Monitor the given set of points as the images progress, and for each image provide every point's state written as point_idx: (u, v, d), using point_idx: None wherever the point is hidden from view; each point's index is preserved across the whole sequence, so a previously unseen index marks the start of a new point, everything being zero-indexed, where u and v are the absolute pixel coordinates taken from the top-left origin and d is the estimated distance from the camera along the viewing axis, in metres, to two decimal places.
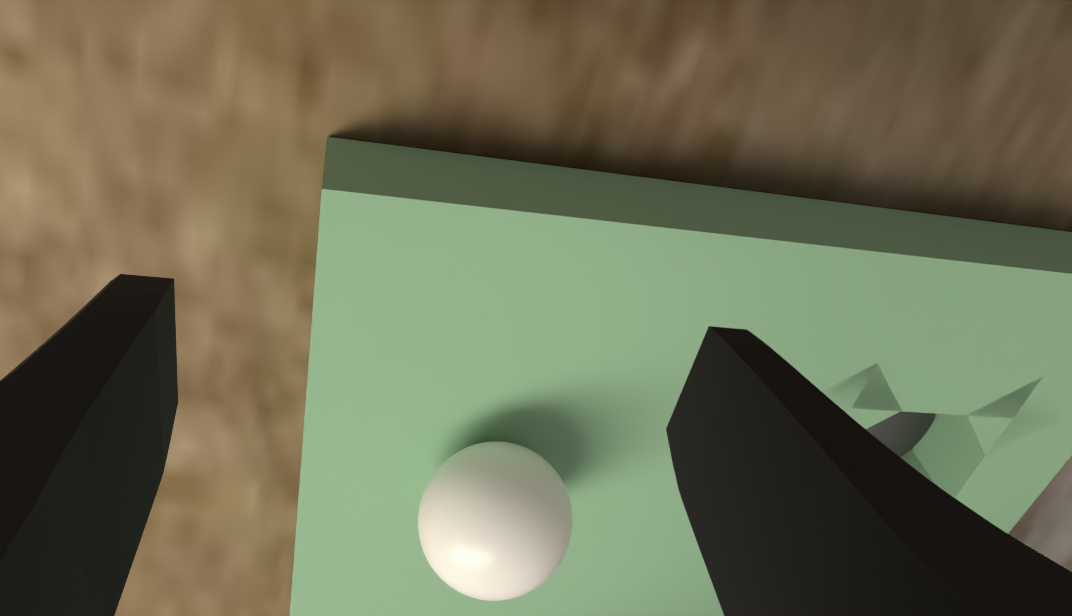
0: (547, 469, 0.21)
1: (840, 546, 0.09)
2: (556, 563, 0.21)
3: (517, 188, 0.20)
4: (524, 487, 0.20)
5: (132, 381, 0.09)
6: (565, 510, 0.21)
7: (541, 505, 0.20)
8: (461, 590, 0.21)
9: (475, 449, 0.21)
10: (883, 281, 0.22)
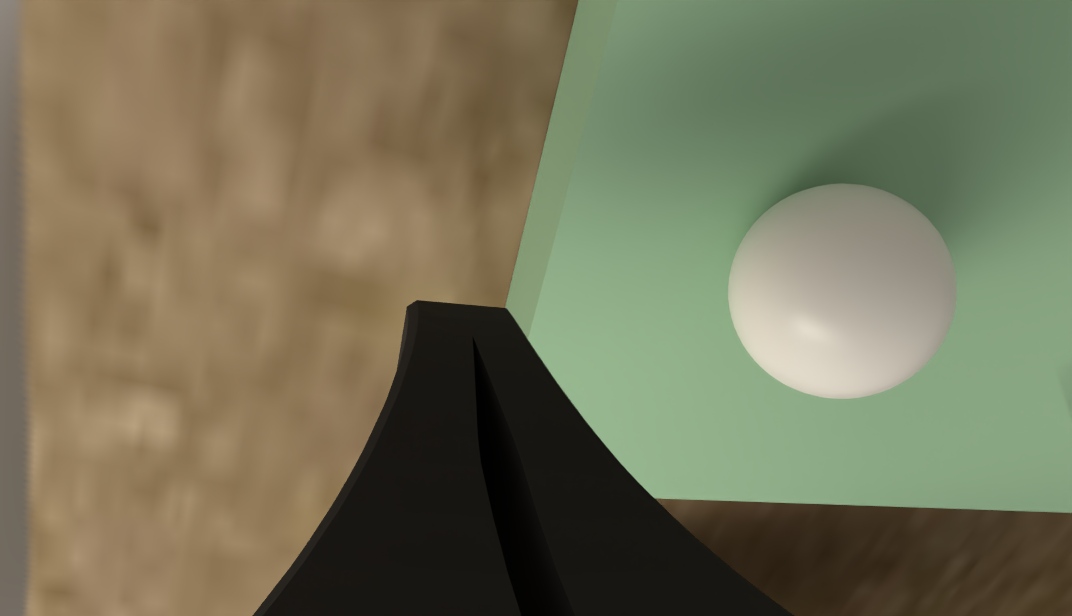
0: None
1: (515, 539, 0.08)
2: (943, 340, 0.15)
3: None
4: (913, 221, 0.14)
5: None
6: None
7: (937, 247, 0.14)
8: (814, 374, 0.15)
9: (818, 187, 0.15)
10: None
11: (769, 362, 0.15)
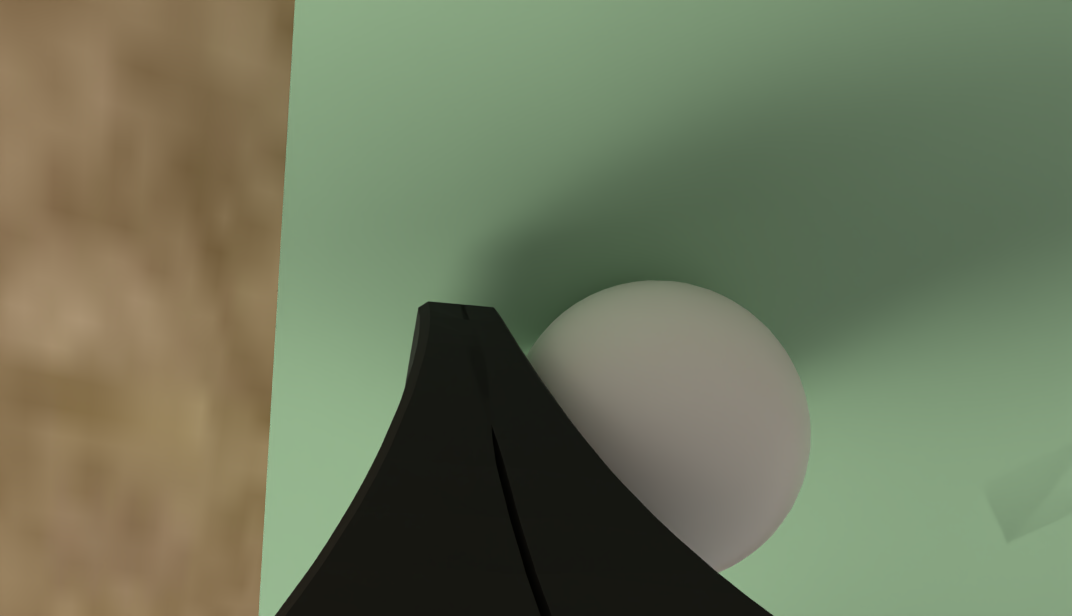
0: (762, 323, 0.11)
1: None
2: (792, 503, 0.11)
3: None
4: (740, 345, 0.10)
5: None
6: (805, 399, 0.11)
7: (775, 382, 0.10)
8: None
9: (620, 288, 0.11)
10: None
11: None
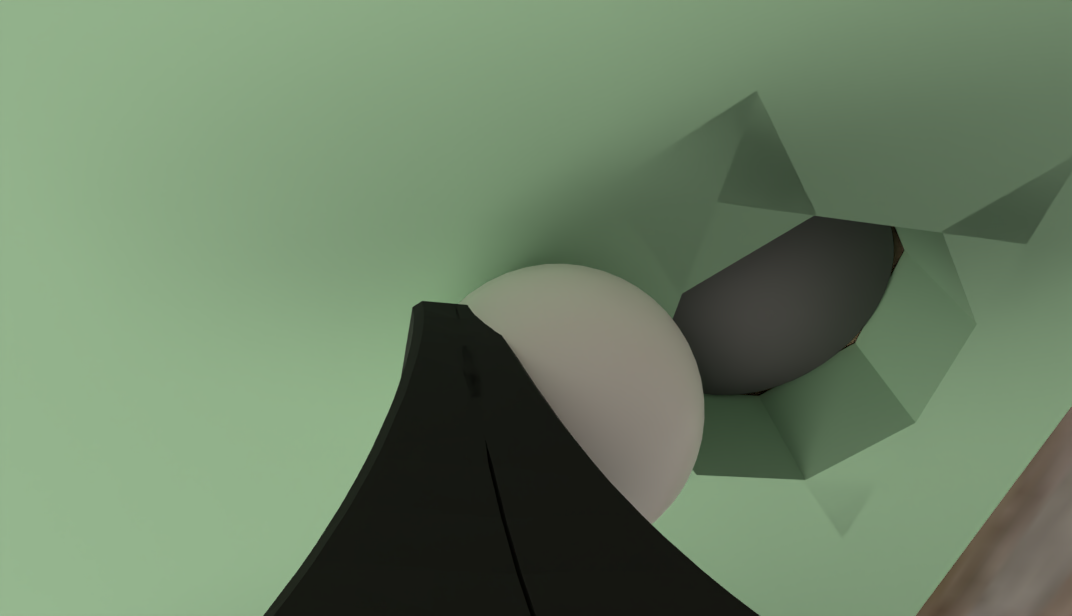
0: (585, 385, 0.10)
1: None
2: None
3: None
4: (562, 301, 0.10)
5: None
6: None
7: (516, 318, 0.10)
8: None
9: (680, 336, 0.11)
10: None
11: None
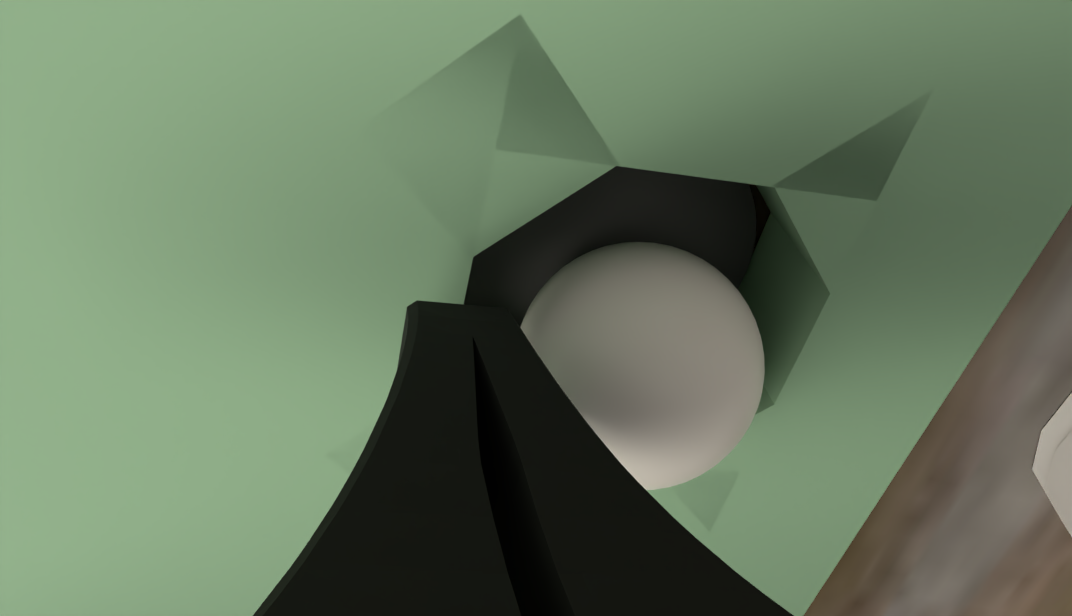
0: (652, 247, 0.13)
1: (515, 540, 0.08)
2: None
3: None
4: (699, 288, 0.12)
5: None
6: None
7: (722, 285, 0.13)
8: None
9: (585, 328, 0.12)
10: None
11: None
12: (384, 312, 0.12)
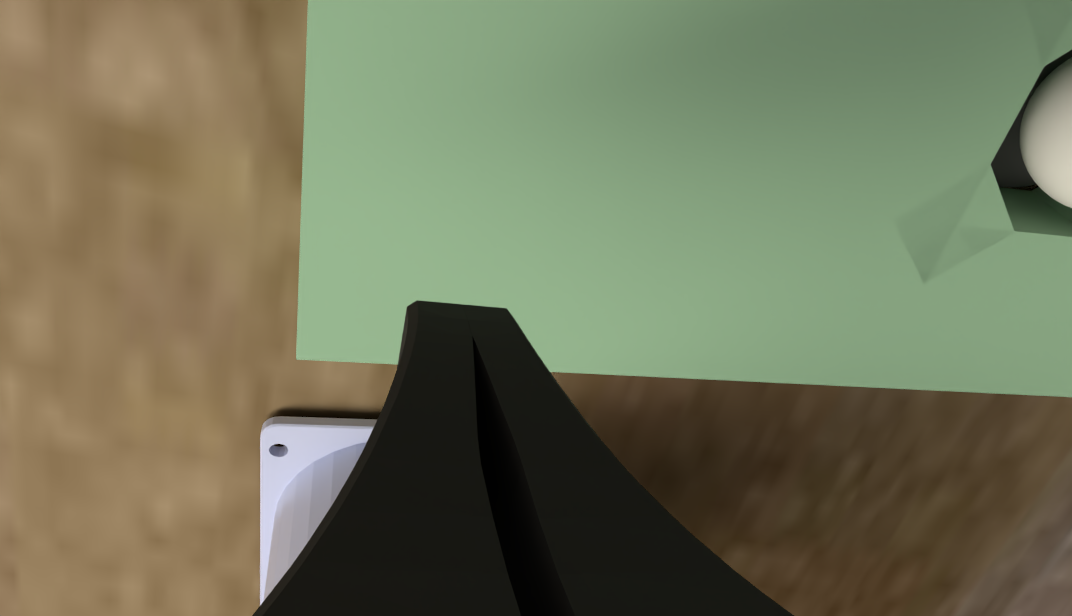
0: None
1: (515, 540, 0.08)
2: None
3: None
4: None
5: None
6: None
7: None
8: None
9: None
10: None
11: None
12: (975, 107, 0.18)
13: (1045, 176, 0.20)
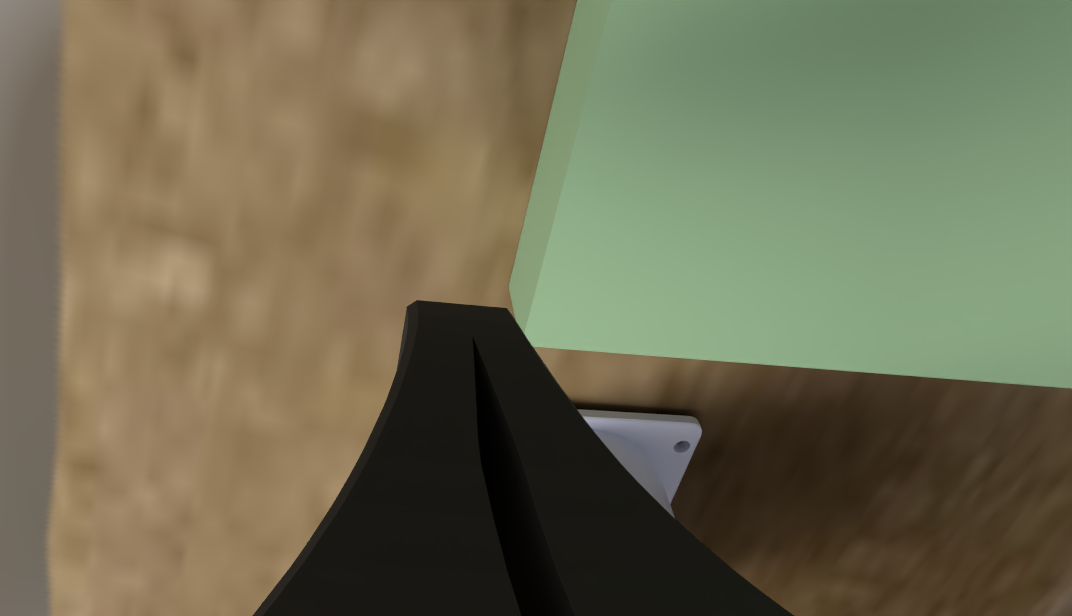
0: None
1: (515, 539, 0.08)
2: None
3: None
4: None
5: None
6: None
7: None
8: None
9: None
10: None
11: None
12: None
13: None
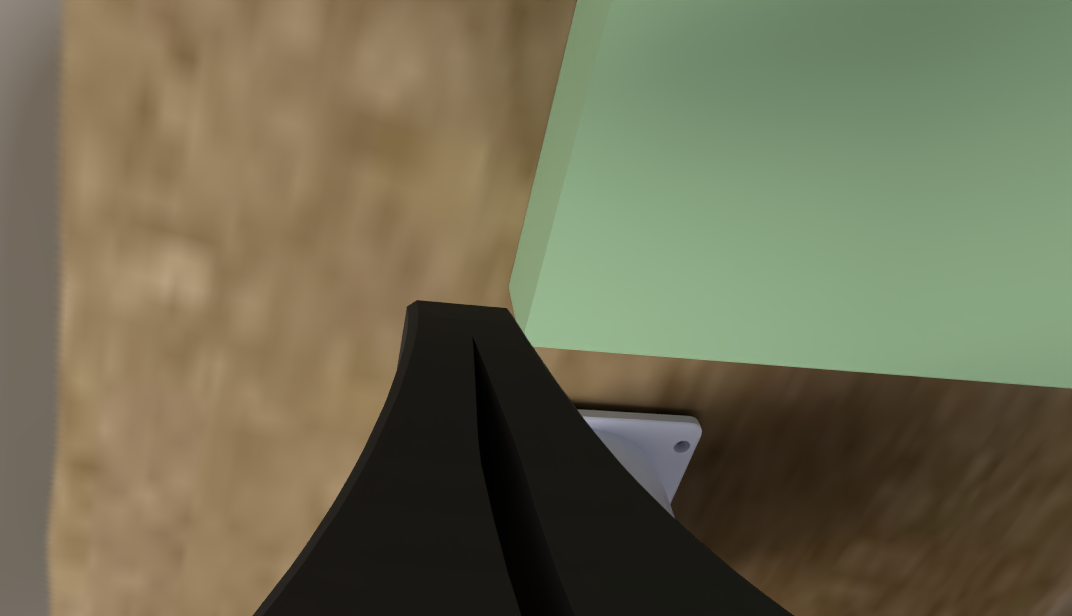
0: None
1: (515, 539, 0.08)
2: None
3: None
4: None
5: None
6: None
7: None
8: None
9: None
10: None
11: None
12: None
13: None
